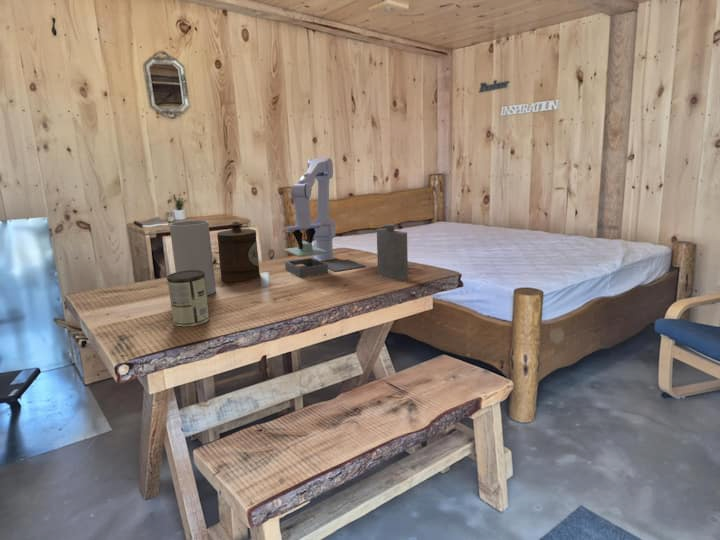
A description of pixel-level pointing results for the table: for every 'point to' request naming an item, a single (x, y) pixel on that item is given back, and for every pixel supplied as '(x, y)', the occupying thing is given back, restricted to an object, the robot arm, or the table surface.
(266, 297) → the table surface
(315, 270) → the storage box
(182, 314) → the coffee can
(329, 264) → the mat
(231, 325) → the table surface
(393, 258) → the hip flask
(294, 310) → the table surface
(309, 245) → the lid
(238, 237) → the wooden container
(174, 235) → the cylinder vase
